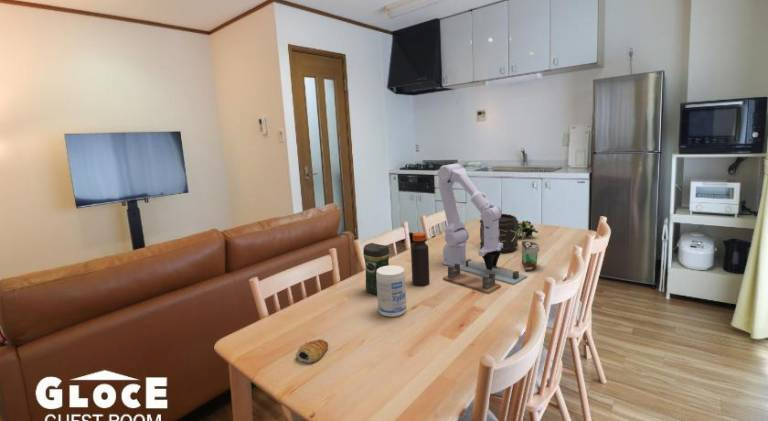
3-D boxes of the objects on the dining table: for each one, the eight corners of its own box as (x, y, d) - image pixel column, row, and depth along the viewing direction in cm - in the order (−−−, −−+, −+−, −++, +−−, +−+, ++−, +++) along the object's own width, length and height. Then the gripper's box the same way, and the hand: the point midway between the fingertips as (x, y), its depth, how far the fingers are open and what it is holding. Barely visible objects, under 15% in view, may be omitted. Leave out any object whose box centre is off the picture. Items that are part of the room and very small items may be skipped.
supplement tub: (398, 320, 125) (396, 276, 122) (373, 314, 129) (370, 273, 126) (411, 307, 133) (409, 266, 130) (387, 302, 138) (384, 263, 135)
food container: (541, 272, 157) (542, 249, 155) (525, 272, 158) (526, 249, 156) (536, 262, 168) (536, 240, 166) (521, 262, 170) (521, 240, 168)
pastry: (316, 343, 114) (315, 331, 113) (334, 348, 111) (333, 336, 110) (294, 360, 106) (292, 347, 106) (313, 366, 103) (312, 353, 102)
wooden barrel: (478, 253, 184) (478, 221, 181) (480, 242, 201) (480, 213, 198) (518, 255, 179) (519, 222, 176) (517, 243, 196) (518, 213, 192)
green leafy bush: (526, 246, 208) (541, 229, 204) (522, 248, 199) (537, 230, 195) (509, 232, 213) (524, 215, 208) (504, 234, 203) (519, 216, 199)
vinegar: (409, 285, 152) (407, 235, 148) (416, 278, 158) (414, 231, 154) (425, 287, 149) (423, 237, 145) (432, 281, 155) (430, 232, 151)
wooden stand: (442, 279, 155) (442, 266, 154) (455, 274, 160) (455, 261, 159) (488, 294, 140) (488, 279, 139) (500, 287, 145) (500, 273, 144)
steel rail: (465, 266, 167) (465, 260, 166) (469, 264, 168) (469, 259, 168) (515, 279, 150) (515, 273, 149) (518, 277, 152) (518, 271, 151)
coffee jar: (395, 290, 148) (392, 243, 144) (381, 297, 142) (378, 249, 138) (376, 284, 154) (373, 239, 150) (362, 291, 148) (359, 245, 145)
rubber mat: (457, 269, 166) (457, 268, 165) (471, 263, 172) (471, 261, 172) (513, 284, 147) (513, 283, 146) (527, 277, 153) (527, 275, 153)
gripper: (489, 242, 148) (489, 275, 151) (509, 234, 158) (509, 265, 161) (474, 239, 154) (474, 271, 156) (494, 231, 163) (494, 262, 166)
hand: (491, 268), depth 159 cm, fingers closed on steel rail, 2 cm apart
